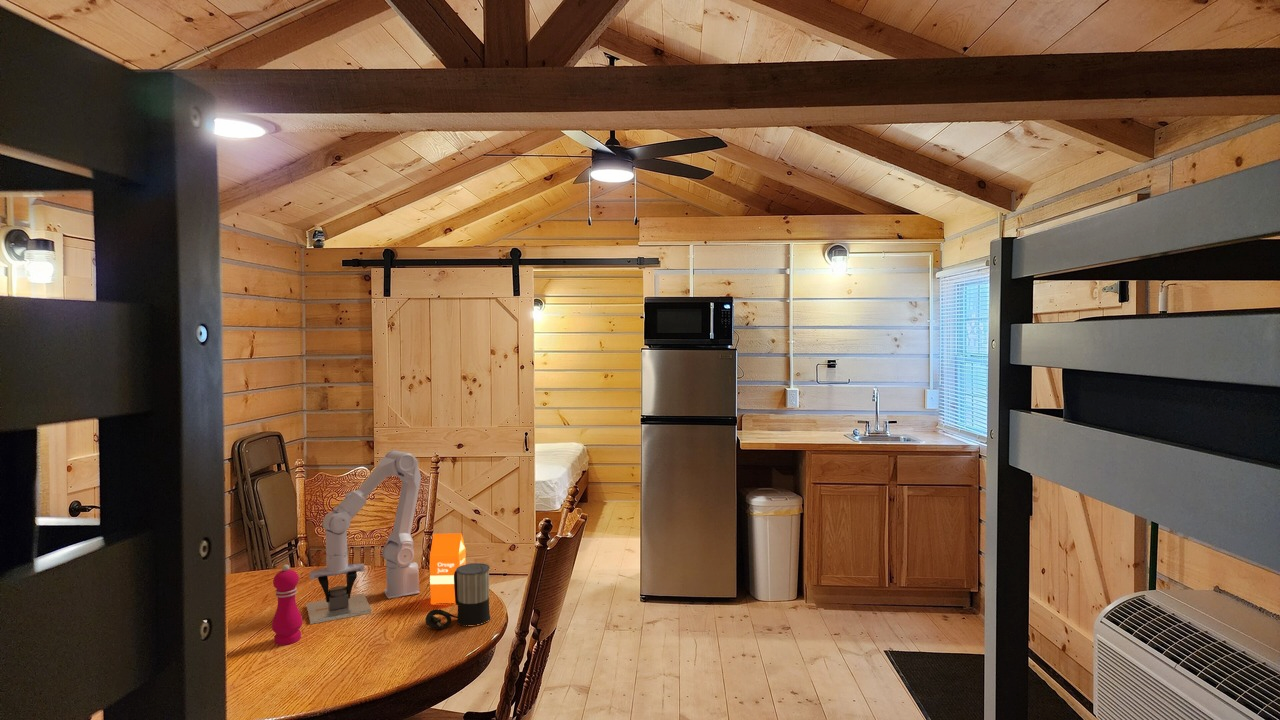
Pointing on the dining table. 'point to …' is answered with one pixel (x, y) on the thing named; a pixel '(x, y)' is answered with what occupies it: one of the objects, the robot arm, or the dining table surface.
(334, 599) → the knob
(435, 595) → the orange juice
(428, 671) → the dining table surface
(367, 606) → the flat square panel
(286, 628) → the pepper mill
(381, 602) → the dining table surface
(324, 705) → the dining table surface
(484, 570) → the milk frother
